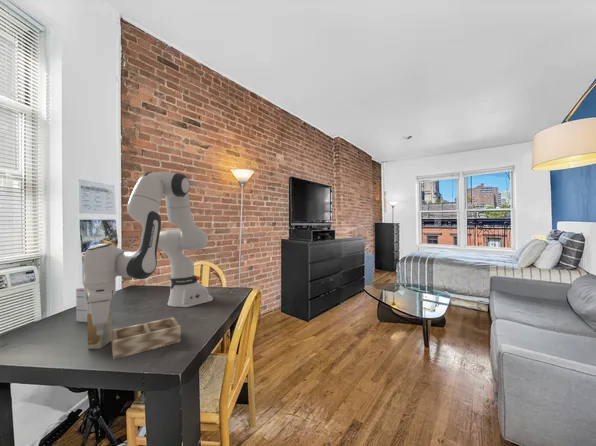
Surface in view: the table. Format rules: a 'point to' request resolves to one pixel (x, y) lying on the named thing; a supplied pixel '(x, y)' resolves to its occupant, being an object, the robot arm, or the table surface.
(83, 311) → the syrup box
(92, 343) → the skincare box
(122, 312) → the table surface
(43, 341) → the table surface
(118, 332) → the slot rack
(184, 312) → the table surface
